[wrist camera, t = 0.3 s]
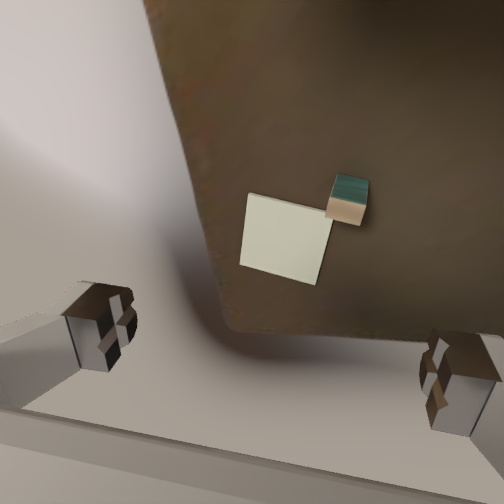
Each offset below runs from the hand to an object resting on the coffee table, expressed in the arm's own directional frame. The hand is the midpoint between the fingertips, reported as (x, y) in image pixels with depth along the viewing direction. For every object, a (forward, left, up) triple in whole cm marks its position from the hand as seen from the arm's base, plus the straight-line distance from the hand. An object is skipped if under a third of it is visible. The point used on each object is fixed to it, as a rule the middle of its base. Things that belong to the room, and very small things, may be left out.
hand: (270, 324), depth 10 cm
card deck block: (+11, +2, -39) cm, 40 cm away
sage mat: (+21, -5, -39) cm, 44 cm away
